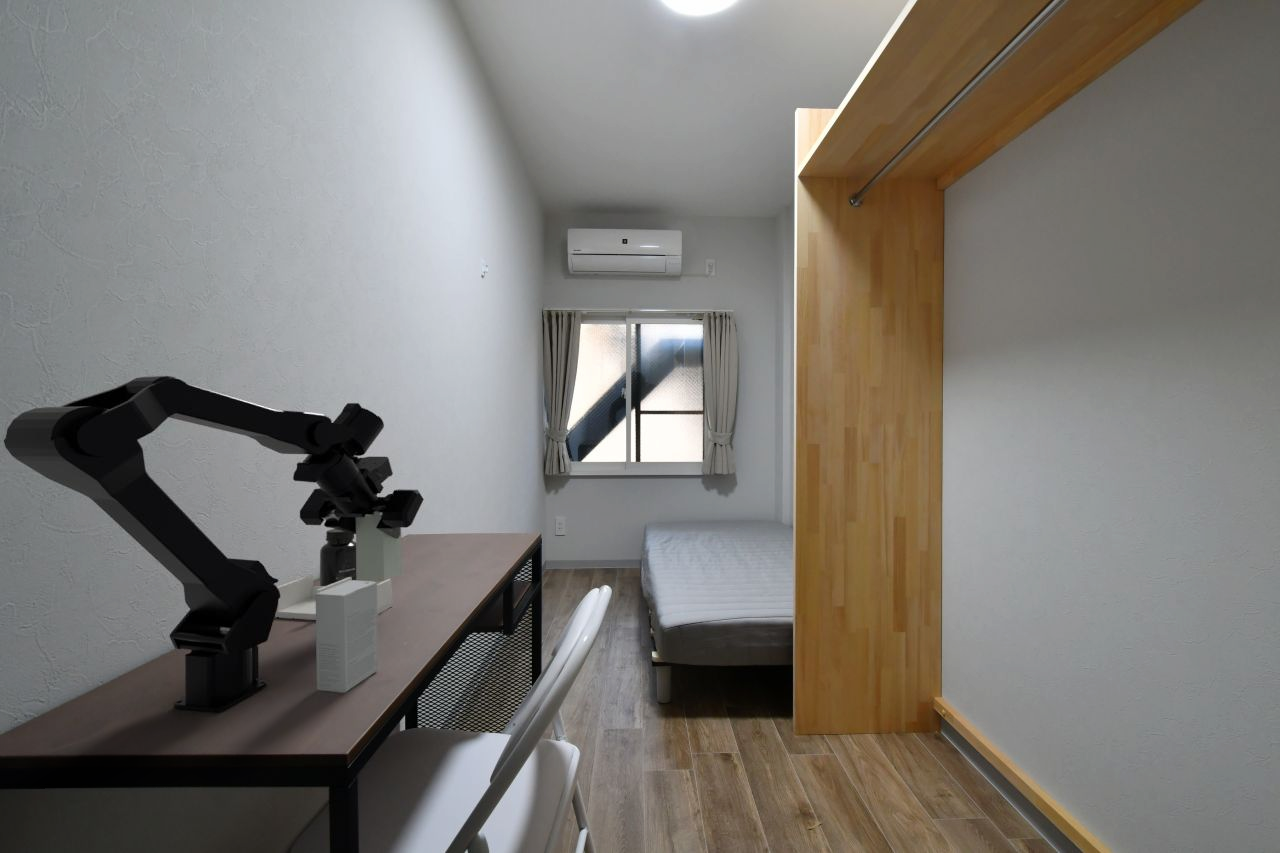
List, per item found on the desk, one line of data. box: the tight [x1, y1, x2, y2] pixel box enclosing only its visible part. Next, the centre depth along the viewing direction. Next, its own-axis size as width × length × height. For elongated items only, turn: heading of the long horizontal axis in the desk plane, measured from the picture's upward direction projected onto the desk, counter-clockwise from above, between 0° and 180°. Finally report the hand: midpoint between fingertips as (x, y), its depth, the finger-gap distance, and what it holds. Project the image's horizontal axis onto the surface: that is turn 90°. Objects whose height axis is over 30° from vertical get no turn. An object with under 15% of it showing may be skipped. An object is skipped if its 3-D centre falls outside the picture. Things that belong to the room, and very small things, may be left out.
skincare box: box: [315, 580, 379, 694], centre depth 67 cm, size 6×4×12 cm
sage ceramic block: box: [355, 511, 403, 582], centre depth 90 cm, size 5×5×13 cm
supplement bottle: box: [319, 528, 360, 586], centre depth 104 cm, size 7×7×12 cm
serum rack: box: [274, 574, 393, 621], centre depth 92 cm, size 8×17×5 cm, turn 81°
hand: (384, 535), depth 91 cm, fingers closed on sage ceramic block, 5 cm apart
